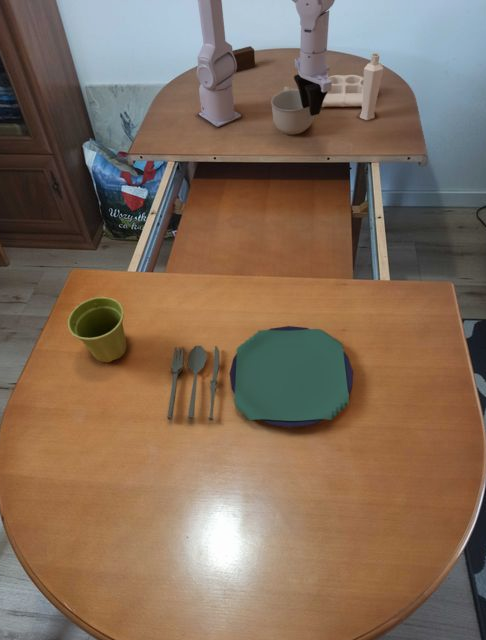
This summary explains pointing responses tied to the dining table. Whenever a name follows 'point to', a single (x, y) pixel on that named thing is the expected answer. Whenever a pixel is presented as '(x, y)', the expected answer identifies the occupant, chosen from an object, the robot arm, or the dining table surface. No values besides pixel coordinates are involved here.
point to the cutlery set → (279, 376)
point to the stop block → (244, 58)
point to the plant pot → (99, 327)
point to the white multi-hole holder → (345, 91)
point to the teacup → (290, 112)
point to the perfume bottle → (371, 86)
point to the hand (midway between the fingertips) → (310, 110)
